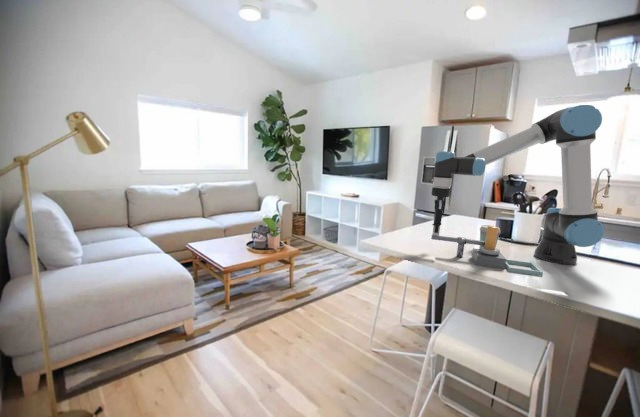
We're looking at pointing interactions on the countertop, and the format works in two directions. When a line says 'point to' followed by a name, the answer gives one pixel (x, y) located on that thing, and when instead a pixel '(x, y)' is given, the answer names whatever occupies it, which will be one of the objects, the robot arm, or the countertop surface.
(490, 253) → the tamper
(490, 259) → the socket block
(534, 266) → the tray
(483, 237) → the coffee cup
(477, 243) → the grey lever handle
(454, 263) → the countertop surface
